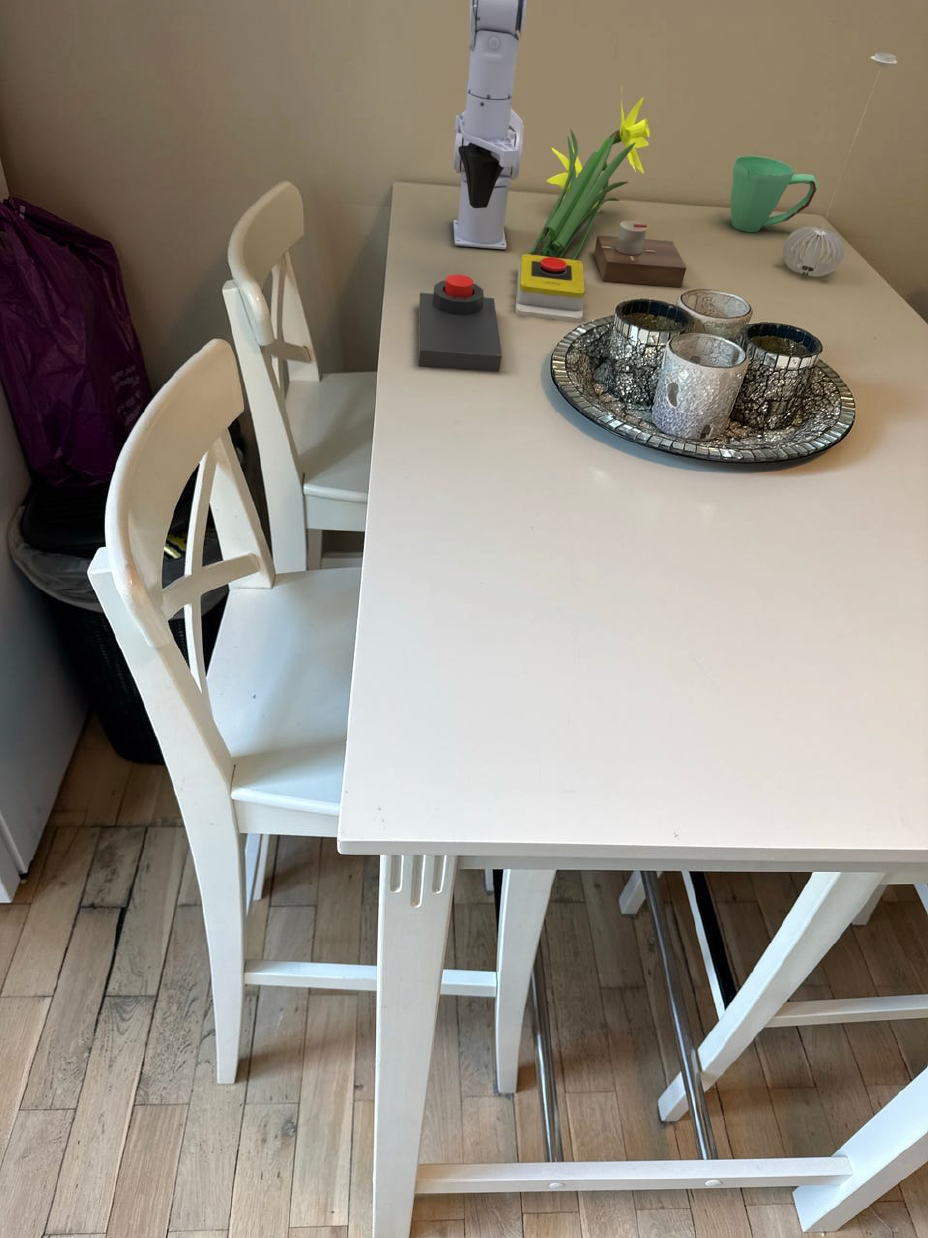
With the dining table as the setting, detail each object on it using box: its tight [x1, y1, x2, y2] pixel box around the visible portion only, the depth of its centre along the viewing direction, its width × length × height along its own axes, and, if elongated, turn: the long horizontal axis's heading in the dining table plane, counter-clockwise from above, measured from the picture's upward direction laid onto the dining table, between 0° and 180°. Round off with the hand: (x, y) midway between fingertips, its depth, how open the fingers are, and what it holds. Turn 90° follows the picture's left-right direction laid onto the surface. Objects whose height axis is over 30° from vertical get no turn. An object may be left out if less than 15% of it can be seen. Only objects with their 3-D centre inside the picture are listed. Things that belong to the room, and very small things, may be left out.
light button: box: [445, 274, 474, 298], centre depth 115 cm, size 4×4×2 cm
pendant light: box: [782, 52, 899, 278], centre depth 132 cm, size 9×9×30 cm
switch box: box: [418, 280, 503, 373], centre depth 113 cm, size 17×10×4 cm, turn 2°
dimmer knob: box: [615, 220, 648, 255], centre depth 132 cm, size 4×4×4 cm
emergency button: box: [514, 253, 585, 323], centre depth 124 cm, size 9×4×15 cm
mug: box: [730, 155, 819, 233], centre depth 150 cm, size 15×10×10 cm
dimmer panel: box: [593, 234, 687, 288], centre depth 134 cm, size 10×12×3 cm
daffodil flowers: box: [528, 85, 651, 260], centre depth 141 cm, size 17×15×35 cm
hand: (478, 205), depth 120 cm, fingers closed
